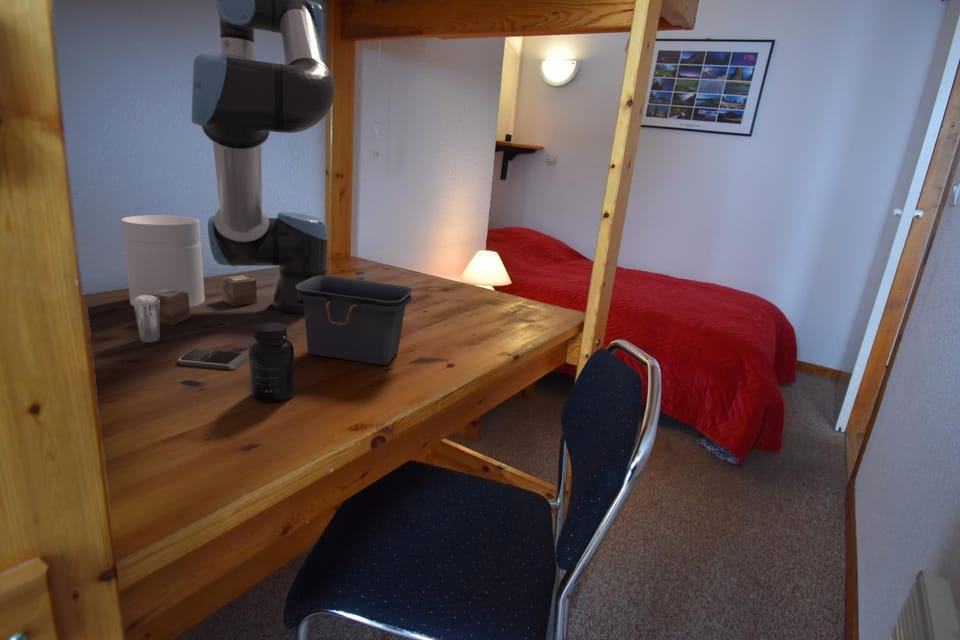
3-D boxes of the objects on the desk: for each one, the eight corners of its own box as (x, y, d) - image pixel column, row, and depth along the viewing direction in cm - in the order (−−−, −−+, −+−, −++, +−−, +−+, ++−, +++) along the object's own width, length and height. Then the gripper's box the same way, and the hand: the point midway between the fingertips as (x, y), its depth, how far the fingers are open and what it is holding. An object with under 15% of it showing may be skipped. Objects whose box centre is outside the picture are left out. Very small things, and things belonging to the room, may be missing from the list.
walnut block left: (190, 318, 122) (188, 291, 120) (173, 325, 116) (170, 297, 114) (165, 315, 122) (162, 288, 121) (147, 322, 117) (144, 294, 115)
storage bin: (414, 350, 115) (417, 285, 110) (392, 377, 100) (395, 304, 96) (319, 337, 117) (319, 273, 113) (285, 362, 102) (283, 290, 98)
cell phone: (194, 354, 103) (194, 348, 103) (251, 360, 103) (250, 353, 102) (175, 366, 97) (175, 359, 97) (235, 372, 97) (235, 365, 97)
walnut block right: (256, 302, 138) (256, 279, 136) (233, 306, 133) (232, 281, 131) (245, 297, 141) (244, 274, 139) (222, 300, 137) (221, 276, 135)
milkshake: (154, 345, 104) (149, 296, 102) (131, 341, 105) (125, 292, 102) (172, 338, 109) (167, 291, 106) (149, 334, 110) (144, 287, 107)
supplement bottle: (258, 385, 92) (255, 319, 88) (299, 387, 93) (298, 321, 89) (244, 403, 85) (241, 332, 82) (288, 405, 86) (287, 334, 82)
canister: (116, 300, 130) (107, 217, 124) (181, 289, 143) (175, 214, 137) (153, 314, 122) (144, 226, 116) (218, 302, 135) (213, 222, 129)
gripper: (206, 57, 129) (212, 158, 136) (245, 57, 124) (249, 163, 130) (232, 63, 135) (236, 159, 142) (270, 63, 130) (273, 164, 137)
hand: (242, 161), depth 136 cm, fingers closed
